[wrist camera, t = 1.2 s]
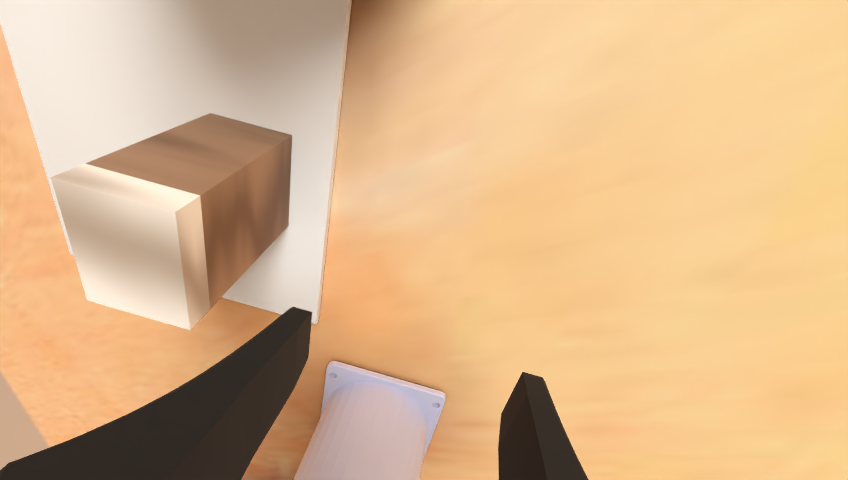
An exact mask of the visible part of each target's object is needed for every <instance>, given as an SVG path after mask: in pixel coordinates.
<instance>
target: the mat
mask: <svg viewBox="0 0 848 480" xmlns="http://www.w3.org/2000/svg"><path fill="white" fill-rule="evenodd" d="M351 4H352V0H0V23H1V27H2V30H3V33H4V37H5V40H6V43H7V47H8V50H9V53H10V57H11V60H12V63H13V66H14V70H15V73H16V76H17V80H18V83H19V86H20V90H21V93H22V96H23V99H24V103H25V106H26V109H27V113H28V116H29V119H30V123H31V126H32V129H33V133H34V136H35V139H36V142H37V146H38V149H39V152H40V156H41V159H42V162H43V166H44V169H45V172H46V175H47V179H48V182H49V185H50V189H51V192H52V195H53V199H54V202H55V205H56V209H57V212H58V215H59V218H60V222H61V225H62V228H63V232H64V235H65V238H66V242H67V245H68V248H69V251H70V254H71V255H74V254H73V251H72V247H71V244H70V241H69V237H68V234H67V231H66V227H65V224H64V220H63V217H62V214H61V210H60V207H59V204H58V200H57V197H56V194H55V190H54V187H53V184H52V180H51V177H53V176H55V175H58V174H60V173H63V172H65V171H68V170H70V169H73V168H75V167H77V166H80V165H82V164H85V163H87V162H90V161H92V160H95V159H97V158H100V157H102V156H105V155H107V154H110V153H112V152H115V151H117V150H120V149H122V148H125V147H127V146H130V145H132V144H135V143H137V142H140V141H142V140H145V139H147V138H150V137H152V136H155V135H157V134H160V133H162V132H165V131H167V130H169V129H172V128H174V127H177V126H179V125H182V124H184V123H187V122H189V121H192V120H194V119H197V118H199V117H202V116H204V115H207V114H209V113H212V114H216V115H220V116H224V117H227V118H231V119H235V120H238V121H242V122H246V123H249V124H253V125H257V126H261V127H264V128H268V129H272V130H275V131H279V132H283V133H287V134H290V135H292V153H291V177H290V201H289V225H288V227H287V228H286V229H285V230H284V231H283V232H282V233H281V234H280V235H279V236H278V237H277V239H276V240H275V241H274V242H273V243H272V244H271V245H270V246H269V247H268V248H267V249H266V250H265V251H264V252H263V253H262V254H261V256H260V257H259V258H258V259H257V260H256V261H255V262H254V263H253V264H252V265H251V266H250V267H249V268H248V269H247V270H246V271H245V273H244V274H243V275H242V276H241V277H240V278H239V279H238V280H237V281H236V282H235V283H234V284H233V285H232V286H231V287H230V288H229V290H228V291H227V292H226V293H225V294H224V295H223V296H222V298H225V299H229V300H232V301H236V302H239V303H243V304H246V305H250V306H253V307H257V308H260V309H264V310H267V311H271V312H274V313H278V314H281V315H282V314H283V313H285V312H286V311H287V310H288V309H289V308H291V307H296V308H300V309H303V310H307V311H310V312H312V319H311V323H313V324H317V322H318V320H319V316H320V307H321V297H322V287H323V277H324V268H325V258H326V248H327V238H328V229H329V219H330V209H331V199H332V190H333V180H334V170H335V160H336V151H337V141H338V131H339V121H340V112H341V102H342V92H343V82H344V73H345V63H346V53H347V43H348V34H349V24H350V14H351Z"/></svg>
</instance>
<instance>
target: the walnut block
mask: <svg viewBox="0 0 848 480" xmlns="http://www.w3.org/2000/svg"><path fill="white" fill-rule="evenodd" d="M291 153H292V135H290V134H287V133H283V132H279V131H275V130H272V129H268V128H264V127H261V126H257V125H253V124H249V123H246V122H242V121H238V120H235V119H231V118H227V117H224V116H220V115H216V114H212V113H209V114H207V115H204V116H202V117H199V118H197V119H194V120H192V121H189V122H187V123H184V124H182V125H179V126H177V127H174V128H172V129H169V130H167V131H165V132H162V133H160V134H157V135H155V136H152V137H150V138H147V139H145V140H142V141H140V142H137V143H135V144H132V145H130V146H127V147H125V148H122V149H120V150H117V151H115V152H112V153H110V154H107V155H105V156H102V157H100V158H97V159H95V160H92V161H90V162H87V163H85V164H82V165H80V166H77V167H75V168H73V169H70V170H68V171H65V172H63V173H60V174H58V175H55V176H53V177H51V180H52V184H53V187H54V190H55V194H56V197H57V200H58V204H59V207H60V210H61V214H62V217H63V220H64V224H65V227H66V231H67V234H68V237H69V241H70V244H71V247H72V251H73V254H74V257H75V261H76V264H77V268H78V271H79V274H80V278H81V281H82V284H83V288H84V291H85V294H86V298H87V300H88V301H91V302H95V303H98V304H102V305H105V306H108V307H112V308H115V309H119V310H122V311H126V312H129V313H133V314H136V315H139V316H143V317H146V318H150V319H153V320H157V321H160V322H164V323H167V324H171V325H174V326H177V327H181V328H184V329H188V330H191V329H192V328H193V327H194V326H195V325H196V324H197V322H198V321H199V320H200V319H201V318H202V317H203V316H204V315H205V314H206V313H207V312H208V311H209V310H210V309H211V308H212V307H213V305H214V304H215V303H216V302H217V301H218V300H219V299H220V298H221V297H222V296H223V295H224V294H225V293H226V292H227V291H228V290H229V288H230V287H231V286H232V285H233V284H234V283H235V282H236V281H237V280H238V279H239V278H240V277H241V276H242V275H243V274H244V273H245V271H246V270H247V269H248V268H249V267H250V266H251V265H252V264H253V263H254V262H255V261H256V260H257V259H258V258H259V257H260V256H261V254H262V253H263V252H264V251H265V250H266V249H267V248H268V247H269V246H270V245H271V244H272V243H273V242H274V241H275V240H276V239H277V237H278V236H279V235H280V234H281V233H282V232H283V231H284V230H285V229H286V228H287V227H288V225H289V201H290V177H291Z"/></svg>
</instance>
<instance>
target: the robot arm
mask: <svg viewBox="0 0 848 480" xmlns="http://www.w3.org/2000/svg"><path fill="white" fill-rule="evenodd" d="M311 319H312V312H310V311H307V310H303V309H300V308H296V307H291V308H289V309H288V310H287V311H286V312H285V313H283V314H282V315H281V316H280V317H279V318H277V319H276V320H275V321H274V322H273V323H271V324H270V325H269V326H268V327H266V328H265V329H264V330H262V331H261V332H260V333H259V334H257V335H256V336H255V337H253V338H252V339H251V340H249V341H248V342H247V343H245V344H244V345H243V346H241V347H240V348H238V349H237V350H236V351H234V352H233V353H232V354H230V355H229V356H227V357H226V358H224V359H223V360H221V361H220V362H218V363H217V364H215V365H214V366H212V367H211V368H209V369H208V370H206V371H205V372H203V373H201V374H200V375H198V376H197V377H195V378H193V379H192V380H190V381H188V382H187V383H185V384H183V385H182V386H180V387H178V388H176V389H175V390H173V391H171V392H169V393H168V394H166V395H164V396H162V397H160V398H158V399H156V400H154V401H152V402H151V403H149V404H147V405H145V406H143V407H141V408H139V409H137V410H135V411H133V412H131V413H129V414H127V415H125V416H123V417H121V418H118V419H116V420H114V421H112V422H109V423H107V424H105V425H103V426H100V427H98V428H96V429H94V430H92V431H89V432H87V433H85V434H83V435H80V436H78V437H75V438H73V439H71V440H68V441H66V442H63V443H60V444H58V445H55V446H53V447H50V448H47V449H45V450H42V451H40V452H37V453H34V454H32V455H29V456H27V457H24V458H21V459H19V460H16V461H13V462H10V463H8V464H7V465H6V466H5V467H4V468H2V469H1V470H0V480H241V479H242V477H243V475H244V473H245V471H246V469H247V467H248V465H249V463H250V461H251V460H252V458H253V456H254V454H255V453H256V451H257V449H258V448H259V446H260V444H261V443H262V441H263V439H264V438H265V436H266V434H267V433H268V431H269V429H270V428H271V426H272V424H273V423H274V421H275V419H276V418H277V416H278V414H279V413H280V411H281V409H282V408H283V406H284V404H285V403H286V401H287V399H288V398H289V396H290V394H291V393H292V391H293V389H294V387H295V385H296V383H297V381H298V379H299V377H300V375H301V372H302V370H303V368H304V366H305V363H306V361H307V359H308V353H309V342H310V331H311ZM445 401H446V395H445V394H444V393H443V392H441V391H439V390H435V389H432V388H428V387H425V386H421V385H418V384H414V383H411V382H407V381H404V380H400V379H397V378H393V377H390V376H387V375H383V374H380V373H376V372H373V371H369V370H366V369H362V368H359V367H355V366H352V365H348V364H345V363H342V362H338V361H330V362H329V364H328V366H327V369H326V377H325V385H324V393H323V401H322V409H321V416H320V420H319V422H318V425H317V427H316V429H315V431H314V434H313V436H312V438H311V440H310V443H309V445H308V447H307V450H306V452H305V454H304V456H303V459H302V461H301V463H300V465H299V468H298V470H297V472H296V475H295V477H294V479H293V480H419V478H420V473H421V467H422V462H423V459H424V457H425V454H426V451H427V449H428V446H429V444H430V441H431V438H432V436H433V433H434V430H435V428H436V425H437V423H438V420H439V417H440V415H441V412H442V410H443V407H444V404H445ZM498 454H499V480H588V478H587V476H586V474H585V472H584V470H583V468H582V466H581V464H580V462H579V460H578V458H577V456H576V454H575V452H574V450H573V447H572V445H571V443H570V441H569V439H568V437H567V434H566V432H565V430H564V428H563V425H562V423H561V421H560V418H559V416H558V413H557V411H556V409H555V406H554V404H553V401H552V399H551V396H550V394H549V391H548V389H547V386H546V383H545V381H544V379H543V378H542V377H539V376H535V375H532V374H528V373H525V372H522V374H521V376H520V378H519V380H518V382H517V384H516V386H515V388H514V390H513V392H512V394H511V396H510V398H509V400H508V402H507V404H506V406H505V408H504V410H503V412H502V414H501V424H500V434H499V447H498Z"/></svg>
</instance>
